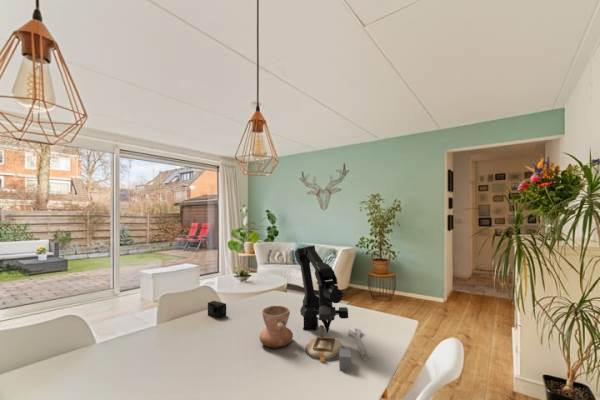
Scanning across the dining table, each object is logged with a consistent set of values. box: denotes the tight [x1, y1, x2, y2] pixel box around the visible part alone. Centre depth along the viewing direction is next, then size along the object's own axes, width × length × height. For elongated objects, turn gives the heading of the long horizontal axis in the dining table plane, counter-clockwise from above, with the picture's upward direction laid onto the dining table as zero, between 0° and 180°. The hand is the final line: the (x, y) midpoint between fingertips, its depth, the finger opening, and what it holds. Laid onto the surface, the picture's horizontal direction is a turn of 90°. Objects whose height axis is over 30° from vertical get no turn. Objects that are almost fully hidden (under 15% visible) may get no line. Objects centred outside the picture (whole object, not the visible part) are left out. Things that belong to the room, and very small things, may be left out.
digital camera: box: [207, 300, 227, 319], centre depth 152 cm, size 10×5×7 cm, turn 58°
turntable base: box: [304, 347, 339, 363], centre depth 111 cm, size 16×17×2 cm
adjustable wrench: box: [347, 328, 370, 360], centre depth 117 cm, size 25×6×2 cm, turn 175°
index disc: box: [305, 324, 344, 359], centre depth 112 cm, size 15×15×6 cm
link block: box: [338, 347, 352, 372], centre depth 100 cm, size 4×6×5 cm, turn 170°
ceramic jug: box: [259, 305, 294, 349], centre depth 120 cm, size 18×14×14 cm
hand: (327, 332), depth 119 cm, fingers closed
